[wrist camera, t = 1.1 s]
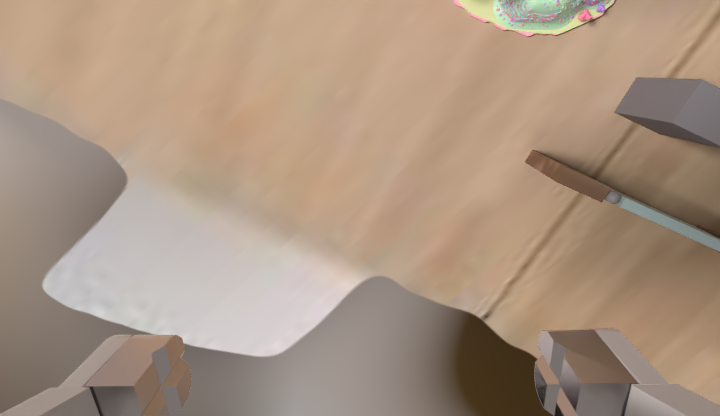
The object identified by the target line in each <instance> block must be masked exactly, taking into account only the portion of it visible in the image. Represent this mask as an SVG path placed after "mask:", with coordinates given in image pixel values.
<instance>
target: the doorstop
mask: <svg viewBox="0 0 720 416" xmlns="http://www.w3.org/2000/svg"><path fill="white" fill-rule="evenodd" d="M615 113H617V114H619V115H621V116H623V117H625V118H627V119H629V120H631V121H633V122H636V123H638V124H640V125H642V126H644V127H646V128H648V129H650V130H652V131H654V132H657V133H659V134H662V135H667V136H671V137H675V138H680V139H684V140H688V141H693V142H697V143H701V144H706V145H710V146H715V147H719V148H720V88H718V87H716V86H714V85H712V84H710V83H708V82H706V81H704V80H700V79H669V78H638V77H637V78H636V79H635V81H634V82H633V84H632V85H631V87H630V88H629V90H628V92H627V93H626V95H625V96H624V98H623V99H622V101H621V102H620V104H619V106H618V107H617V109H616V110H615Z"/></svg>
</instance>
